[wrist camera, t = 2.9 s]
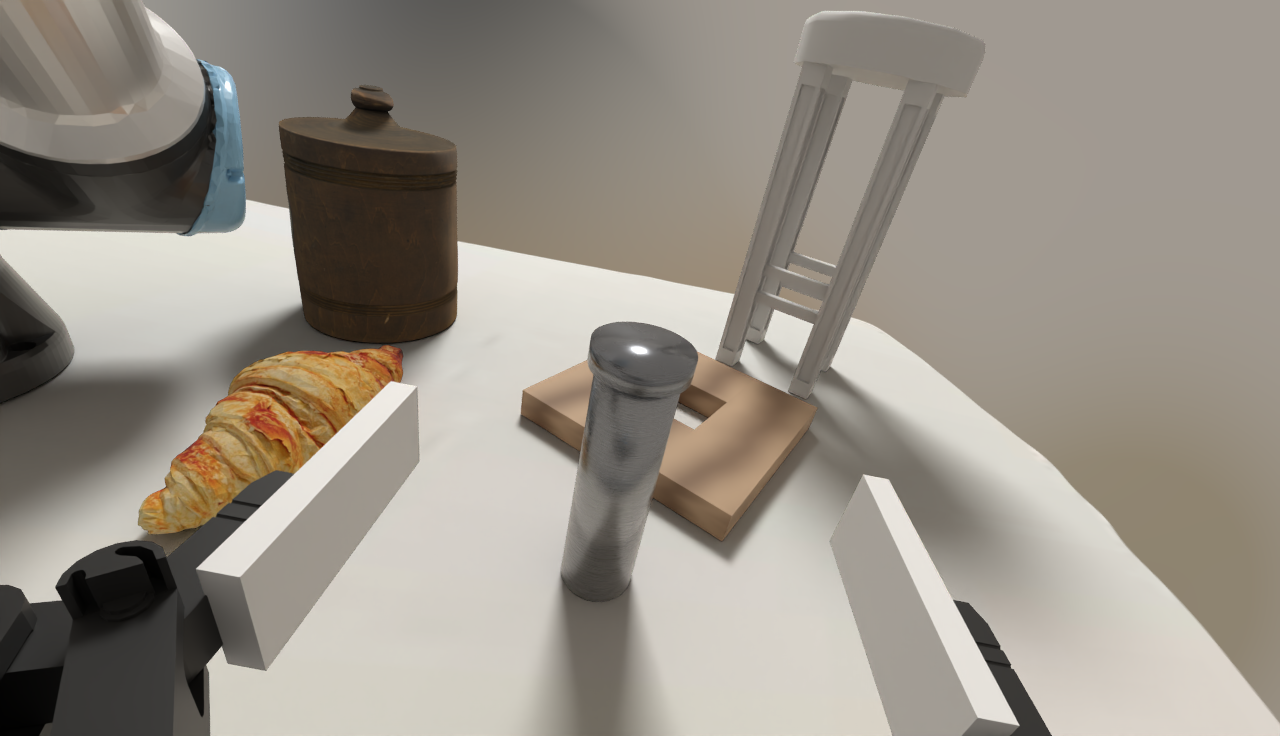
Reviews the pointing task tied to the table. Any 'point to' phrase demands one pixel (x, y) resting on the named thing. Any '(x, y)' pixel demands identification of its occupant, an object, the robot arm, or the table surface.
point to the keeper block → (696, 437)
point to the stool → (830, 62)
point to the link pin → (622, 451)
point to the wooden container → (372, 223)
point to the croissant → (267, 429)
